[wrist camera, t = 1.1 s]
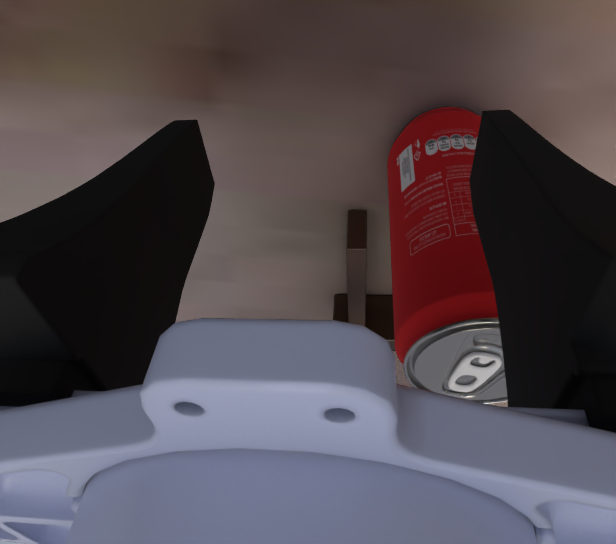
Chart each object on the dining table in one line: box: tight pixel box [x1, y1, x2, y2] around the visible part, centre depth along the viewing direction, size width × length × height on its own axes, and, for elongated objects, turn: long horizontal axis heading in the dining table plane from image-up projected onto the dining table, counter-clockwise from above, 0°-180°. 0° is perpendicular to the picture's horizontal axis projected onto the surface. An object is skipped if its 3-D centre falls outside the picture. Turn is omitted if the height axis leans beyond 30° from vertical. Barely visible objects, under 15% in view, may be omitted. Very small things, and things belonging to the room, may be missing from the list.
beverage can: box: [387, 106, 508, 404], centre depth 19 cm, size 5×5×12 cm
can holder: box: [333, 211, 396, 351], centre depth 27 cm, size 8×11×4 cm
